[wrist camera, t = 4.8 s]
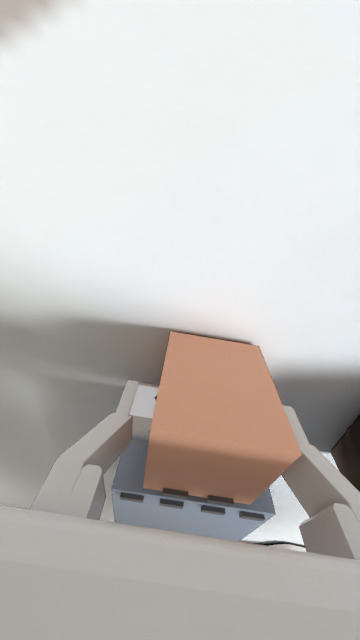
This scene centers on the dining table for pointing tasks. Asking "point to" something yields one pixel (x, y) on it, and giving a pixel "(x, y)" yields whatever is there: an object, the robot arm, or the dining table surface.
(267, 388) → the stub
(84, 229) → the dining table surface
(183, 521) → the double-striped slate block
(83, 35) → the dining table surface
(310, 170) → the dining table surface
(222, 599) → the robot arm
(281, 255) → the dining table surface
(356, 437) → the beverage carton
